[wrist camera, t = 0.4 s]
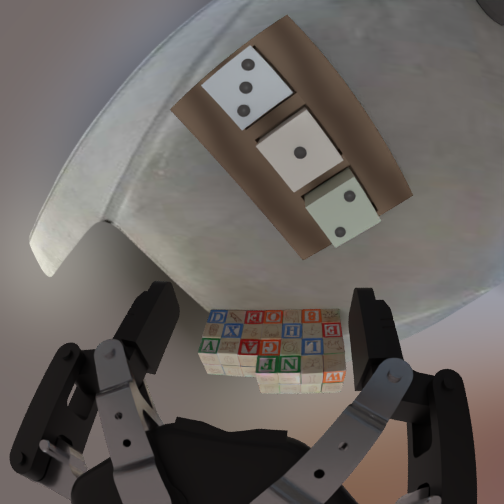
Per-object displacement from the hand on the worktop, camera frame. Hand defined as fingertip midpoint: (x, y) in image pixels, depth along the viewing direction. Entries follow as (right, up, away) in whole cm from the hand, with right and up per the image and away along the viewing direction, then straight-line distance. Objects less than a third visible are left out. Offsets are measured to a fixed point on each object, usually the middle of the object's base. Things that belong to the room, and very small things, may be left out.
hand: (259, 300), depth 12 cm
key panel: (+5, +15, +18) cm, 24 cm away
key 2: (+10, +8, +19) cm, 23 cm away
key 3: (0, +19, +13) cm, 23 cm away
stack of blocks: (+4, -10, +35) cm, 37 cm away
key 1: (+5, +13, +16) cm, 21 cm away
